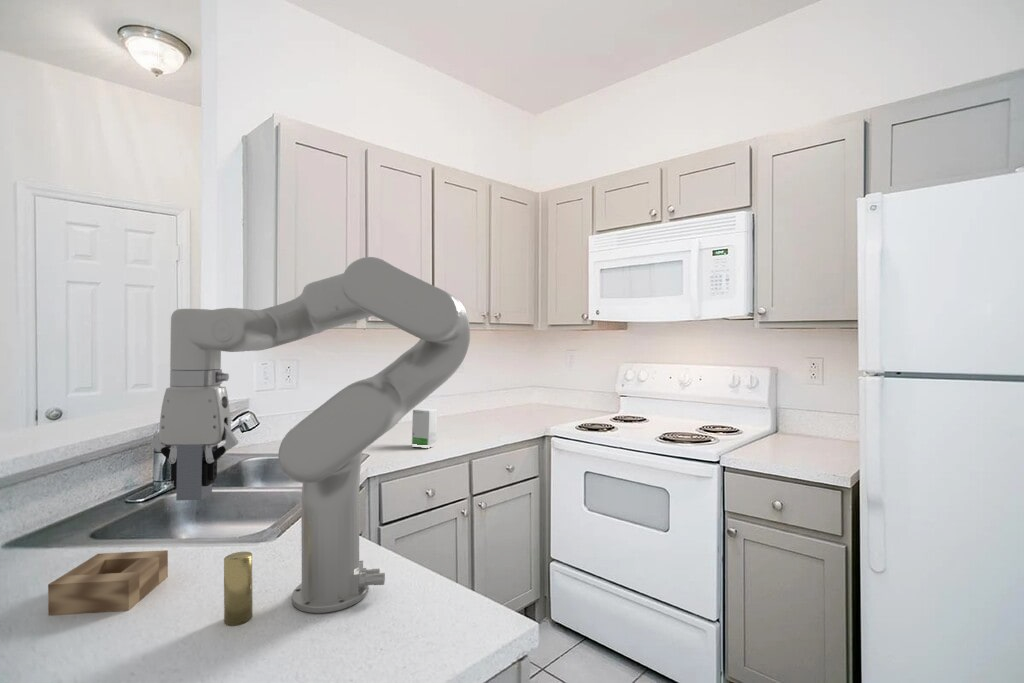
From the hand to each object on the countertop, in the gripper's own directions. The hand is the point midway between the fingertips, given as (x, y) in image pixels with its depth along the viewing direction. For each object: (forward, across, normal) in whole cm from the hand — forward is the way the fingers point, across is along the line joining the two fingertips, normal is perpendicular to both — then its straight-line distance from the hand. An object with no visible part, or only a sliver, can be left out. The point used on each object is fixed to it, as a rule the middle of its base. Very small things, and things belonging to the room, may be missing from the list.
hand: (194, 483), depth 90 cm
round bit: (+19, -11, +9) cm, 24 cm away
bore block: (+20, +14, -2) cm, 24 cm away
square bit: (+2, 0, 0) cm, 2 cm away
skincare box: (+19, -35, -118) cm, 124 cm away
